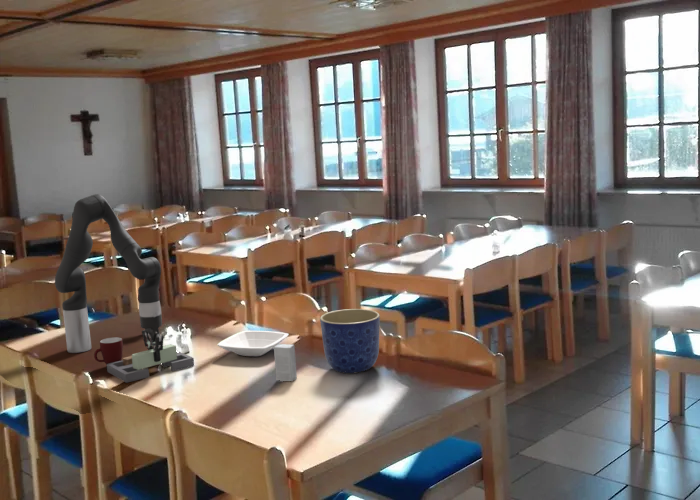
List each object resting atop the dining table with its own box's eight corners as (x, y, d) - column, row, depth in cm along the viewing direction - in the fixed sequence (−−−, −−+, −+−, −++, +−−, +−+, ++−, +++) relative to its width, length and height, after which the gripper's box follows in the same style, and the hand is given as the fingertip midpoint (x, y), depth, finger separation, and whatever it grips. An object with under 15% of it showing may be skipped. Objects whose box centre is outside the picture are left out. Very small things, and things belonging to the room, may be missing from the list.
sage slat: (133, 368, 291) (131, 354, 290) (171, 357, 302) (170, 344, 301) (138, 369, 288) (136, 356, 287) (177, 358, 299) (175, 345, 298)
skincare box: (297, 378, 279) (294, 344, 277) (292, 382, 275) (290, 347, 273) (280, 377, 281) (278, 343, 279) (275, 381, 277) (273, 347, 275)
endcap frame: (107, 371, 298) (106, 363, 298) (173, 356, 314) (172, 348, 313) (126, 382, 284) (125, 374, 284) (194, 365, 300) (193, 357, 299)
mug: (100, 372, 298) (97, 346, 296) (92, 367, 304) (89, 341, 303) (128, 366, 304) (125, 340, 302) (120, 361, 310) (117, 336, 309)
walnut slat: (124, 371, 299) (122, 358, 298) (162, 360, 309) (161, 347, 309) (128, 373, 296) (127, 359, 295) (167, 362, 307) (166, 349, 306)
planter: (394, 366, 287) (391, 313, 284) (354, 382, 272) (351, 326, 269) (351, 356, 301) (348, 306, 298) (310, 371, 286) (307, 318, 283)
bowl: (213, 360, 306) (211, 345, 305) (243, 343, 327) (242, 329, 326) (266, 364, 297) (265, 349, 296) (294, 346, 318) (293, 332, 317)
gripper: (132, 312, 295) (137, 358, 298) (148, 318, 284) (153, 366, 287) (152, 308, 300) (156, 354, 303) (168, 314, 289) (173, 361, 291)
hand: (154, 359), depth 295 cm, fingers closed on sage slat, 3 cm apart
